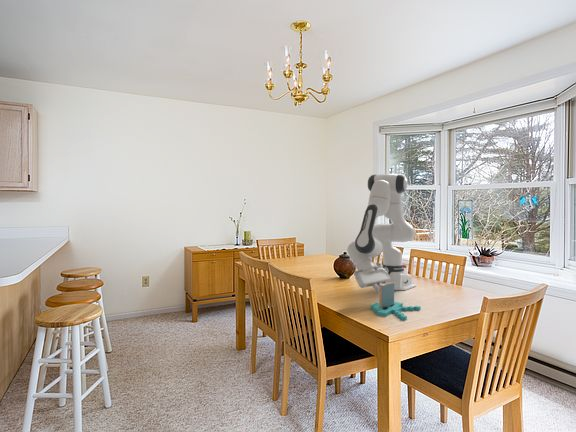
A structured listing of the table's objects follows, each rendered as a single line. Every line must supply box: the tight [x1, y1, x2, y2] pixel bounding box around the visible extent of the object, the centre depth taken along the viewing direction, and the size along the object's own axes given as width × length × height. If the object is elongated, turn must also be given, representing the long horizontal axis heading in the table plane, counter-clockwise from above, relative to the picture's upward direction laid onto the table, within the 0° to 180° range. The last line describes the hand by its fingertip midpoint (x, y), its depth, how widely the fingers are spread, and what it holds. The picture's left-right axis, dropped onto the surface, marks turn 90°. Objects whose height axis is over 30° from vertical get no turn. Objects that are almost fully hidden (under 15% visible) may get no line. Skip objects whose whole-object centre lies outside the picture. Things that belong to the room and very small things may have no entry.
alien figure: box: [370, 301, 422, 322], centre depth 173 cm, size 20×2×20 cm
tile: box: [378, 282, 395, 308], centre depth 175 cm, size 9×2×11 cm, turn 124°
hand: (381, 291), depth 178 cm, fingers closed
